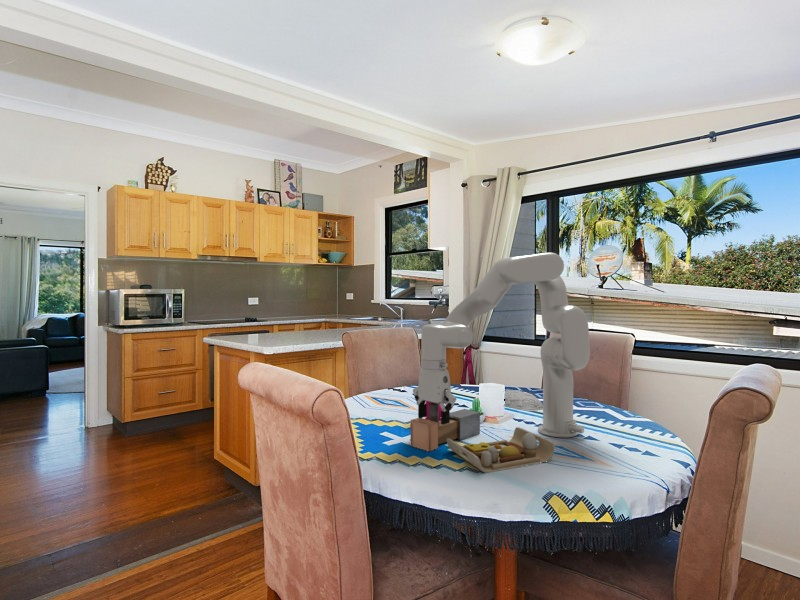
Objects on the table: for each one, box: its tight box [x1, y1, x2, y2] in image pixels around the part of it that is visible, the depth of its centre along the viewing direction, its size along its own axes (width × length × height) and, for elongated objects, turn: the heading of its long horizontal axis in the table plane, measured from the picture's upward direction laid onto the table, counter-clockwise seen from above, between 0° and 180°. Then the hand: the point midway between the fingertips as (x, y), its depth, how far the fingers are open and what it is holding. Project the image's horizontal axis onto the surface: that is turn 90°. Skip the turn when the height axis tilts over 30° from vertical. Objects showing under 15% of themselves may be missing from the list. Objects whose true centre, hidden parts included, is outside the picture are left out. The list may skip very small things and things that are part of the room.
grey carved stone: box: [504, 389, 543, 412], centre depth 196 cm, size 16×25×7 cm, turn 38°
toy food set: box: [446, 426, 556, 474], centre depth 135 cm, size 25×18×8 cm
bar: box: [429, 403, 458, 445], centre depth 148 cm, size 4×16×12 cm, turn 133°
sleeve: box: [450, 408, 481, 441], centre depth 155 cm, size 6×10×7 cm, turn 133°
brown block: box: [410, 417, 439, 452], centre depth 143 cm, size 8×4×8 cm, turn 43°
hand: (433, 420), depth 145 cm, fingers open, 9 cm apart
